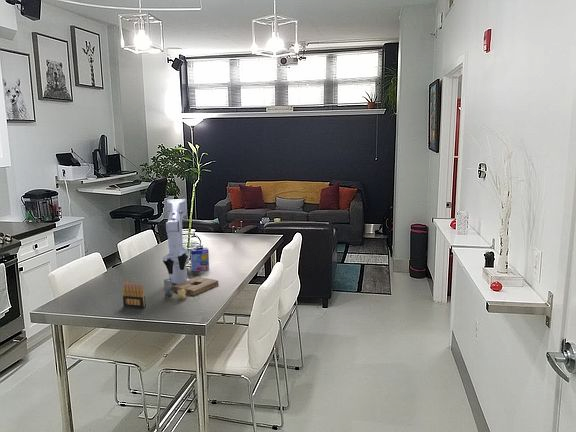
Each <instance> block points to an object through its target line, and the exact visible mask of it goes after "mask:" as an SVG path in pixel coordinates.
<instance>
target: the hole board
mask: <svg viewBox="0 0 576 432" xmlns="http://www.w3.org/2000/svg"><path fill="white" fill-rule="evenodd" d="M216 285H218V286H219V280H218V279H212V278H206V277H202V276H196V277H194V278H191V280H188V281H185V282H183V283H180V284H175V285H172V292H176V293H178V289H185V290H186V295H189V296H196V295H198V294H201V293H203V292H206V291H208V290H210V288H211V289H213V288H215V287H217V286H216ZM214 286H215V287H214ZM212 287H213V288H212Z"/></svg>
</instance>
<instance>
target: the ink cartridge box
mask: <svg viewBox="0 0 576 432" xmlns="http://www.w3.org/2000/svg"><path fill="white" fill-rule="evenodd" d="M189 250H190V261H191V262H190V264H191V265H190V267H191V271H192V272H199V271H200V270H202V271H209V270H210V258H209V256H210V255H209V248H208V247H203V245H196V247H195V248H191V249H189ZM208 269H209V270H208ZM200 272H201V271H200Z"/></svg>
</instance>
